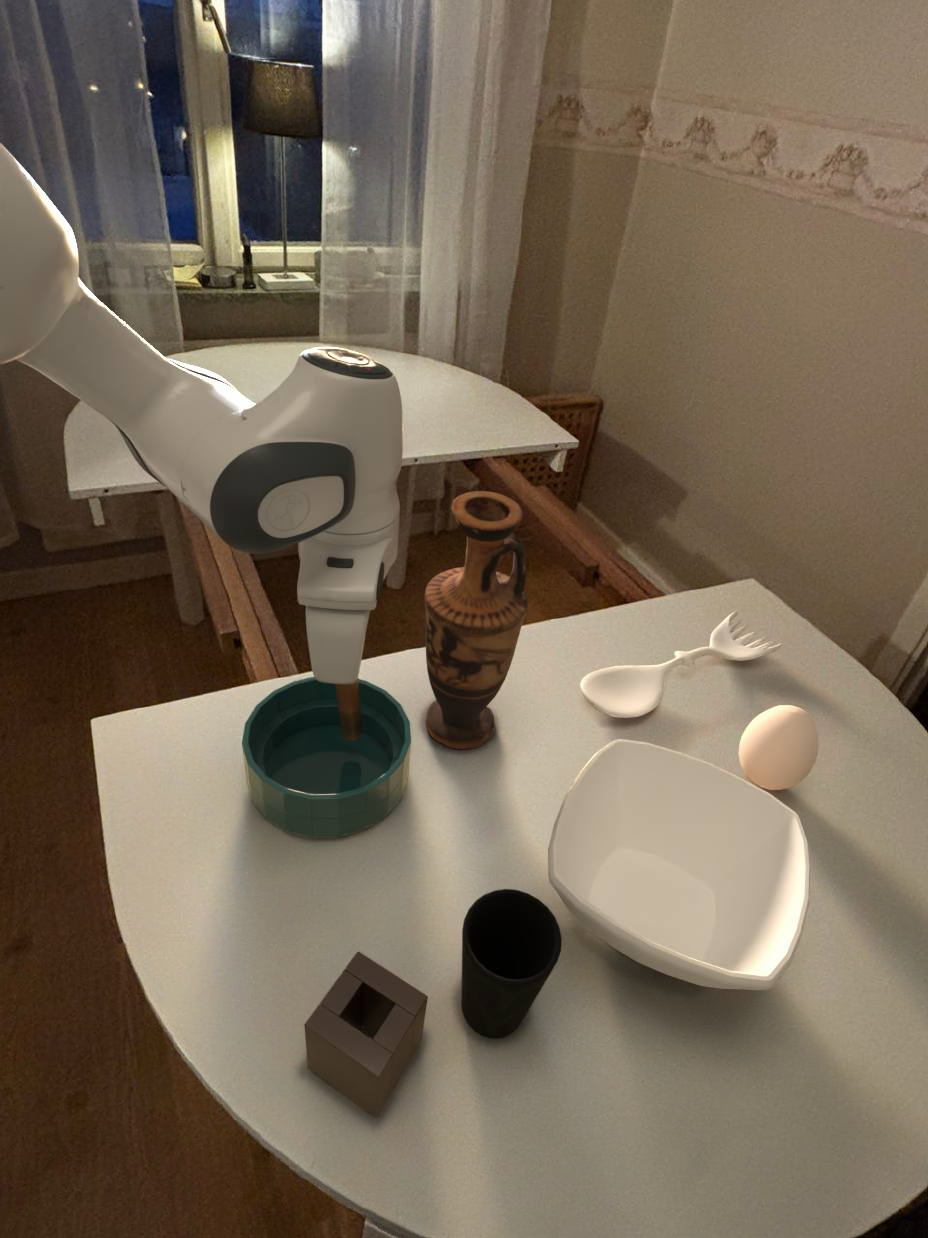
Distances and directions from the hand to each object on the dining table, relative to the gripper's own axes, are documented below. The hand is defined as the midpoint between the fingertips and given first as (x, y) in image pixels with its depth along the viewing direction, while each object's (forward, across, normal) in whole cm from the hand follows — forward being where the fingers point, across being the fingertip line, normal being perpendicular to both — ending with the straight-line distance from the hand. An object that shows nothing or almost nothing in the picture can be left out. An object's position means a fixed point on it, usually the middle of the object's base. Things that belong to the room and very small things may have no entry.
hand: (348, 652), depth 74 cm
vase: (+16, -6, +13) cm, 21 cm away
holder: (+16, +31, +5) cm, 35 cm away
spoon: (+16, -18, +42) cm, 48 cm away
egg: (+16, 0, +48) cm, 51 cm away
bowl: (+16, +17, +31) cm, 39 cm away
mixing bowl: (+16, +3, -2) cm, 16 cm away
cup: (+16, +27, +16) cm, 35 cm away
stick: (+13, 0, 0) cm, 13 cm away
